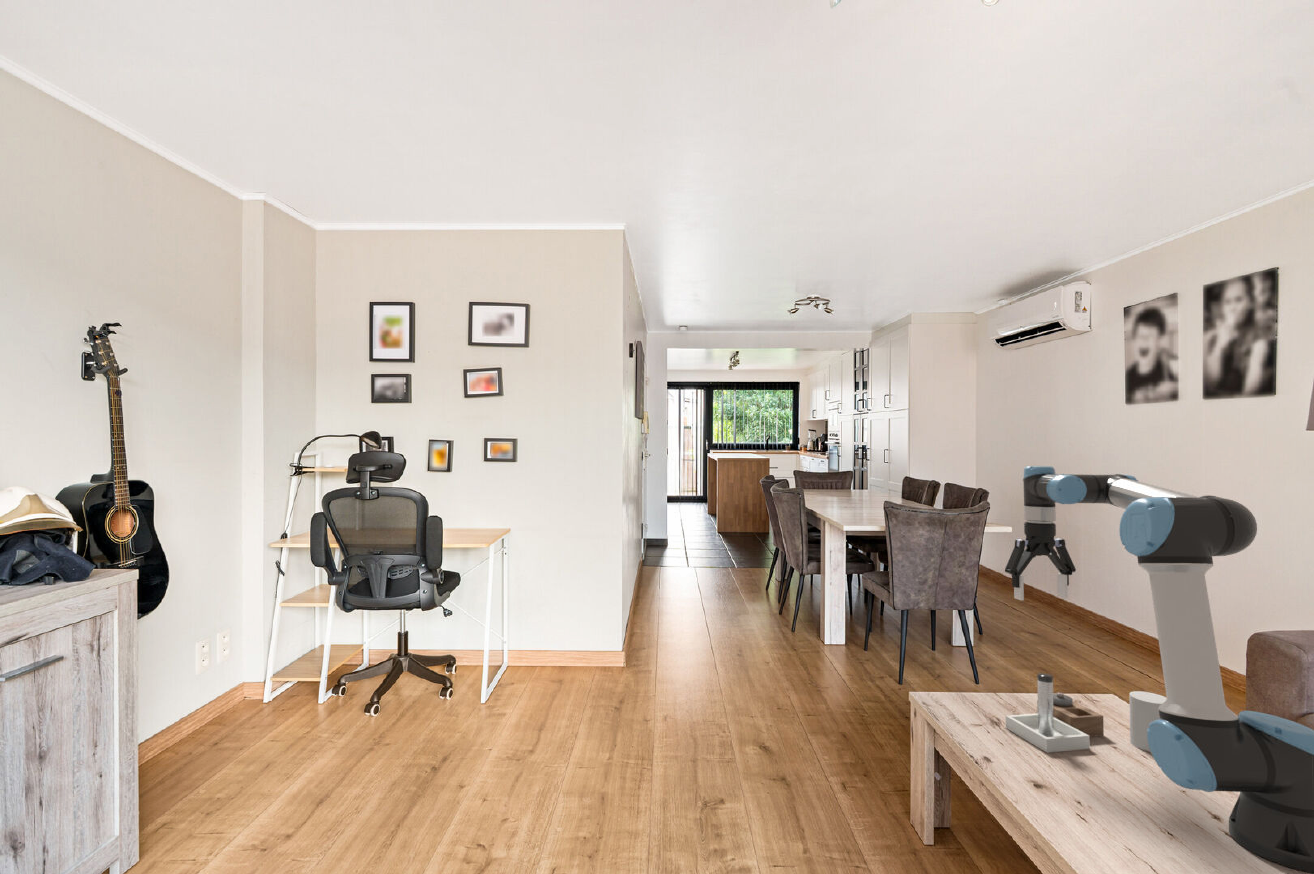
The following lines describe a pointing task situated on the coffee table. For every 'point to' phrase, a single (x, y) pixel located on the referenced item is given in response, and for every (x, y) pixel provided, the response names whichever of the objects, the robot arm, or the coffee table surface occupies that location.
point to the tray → (1062, 740)
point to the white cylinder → (1143, 716)
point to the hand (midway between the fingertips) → (1040, 598)
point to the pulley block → (1077, 715)
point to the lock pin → (1045, 704)
